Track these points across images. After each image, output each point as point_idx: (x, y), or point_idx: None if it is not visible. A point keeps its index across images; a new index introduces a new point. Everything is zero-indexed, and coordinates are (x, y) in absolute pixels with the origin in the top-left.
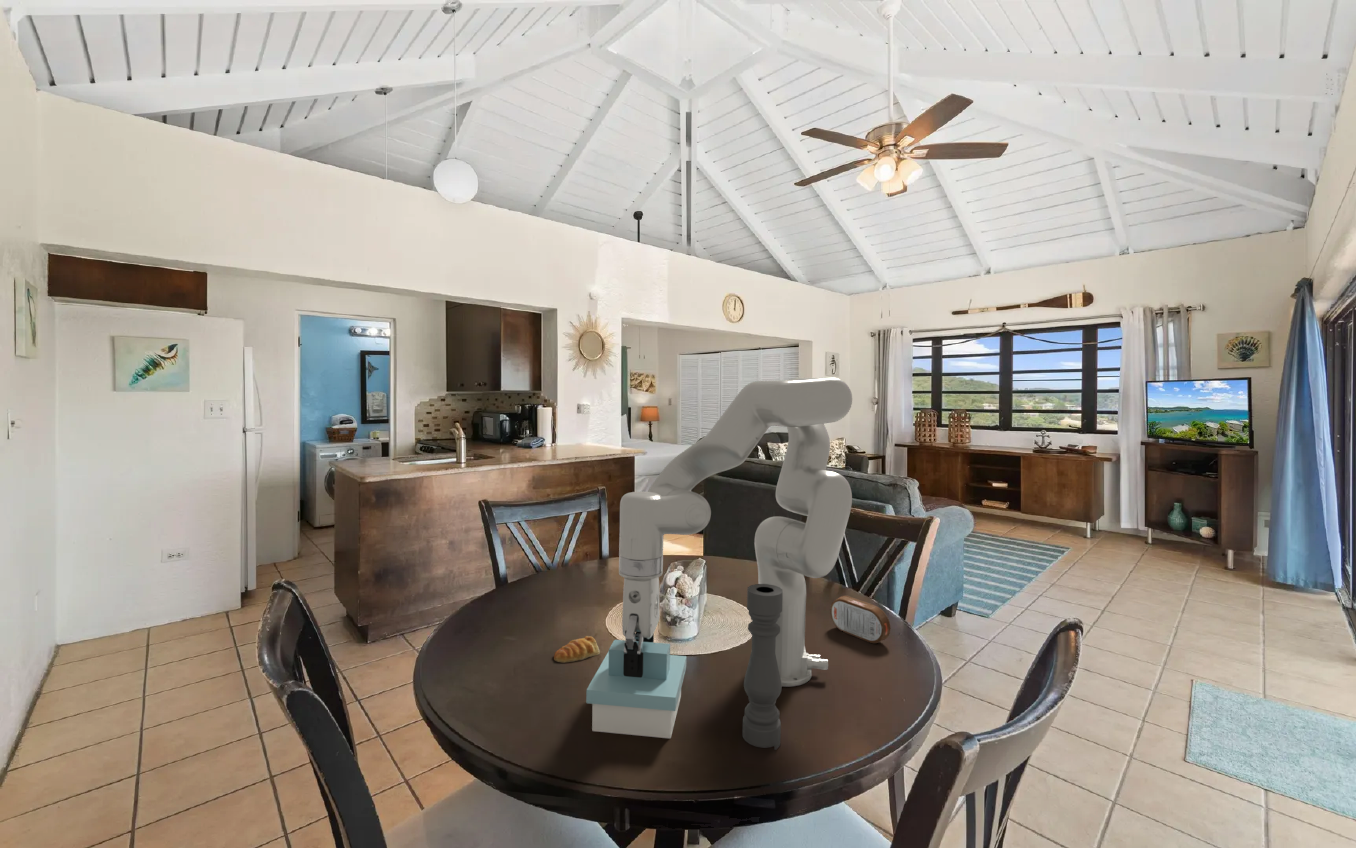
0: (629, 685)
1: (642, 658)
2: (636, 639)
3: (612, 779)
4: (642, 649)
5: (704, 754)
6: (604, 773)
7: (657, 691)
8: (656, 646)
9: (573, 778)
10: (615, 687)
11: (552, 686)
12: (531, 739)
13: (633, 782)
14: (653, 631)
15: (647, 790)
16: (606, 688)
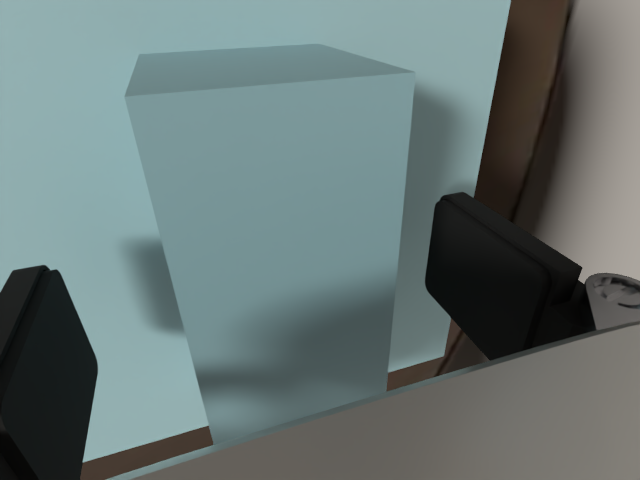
0: (404, 232)
1: (552, 249)
2: (85, 433)
3: (519, 126)
4: (350, 313)
5: None
6: (497, 154)
7: (454, 70)
8: (258, 232)
9: (508, 214)
10: (423, 279)
11: (141, 450)
12: None
13: (536, 65)
14: (620, 365)
15: (569, 13)
16: (433, 305)
